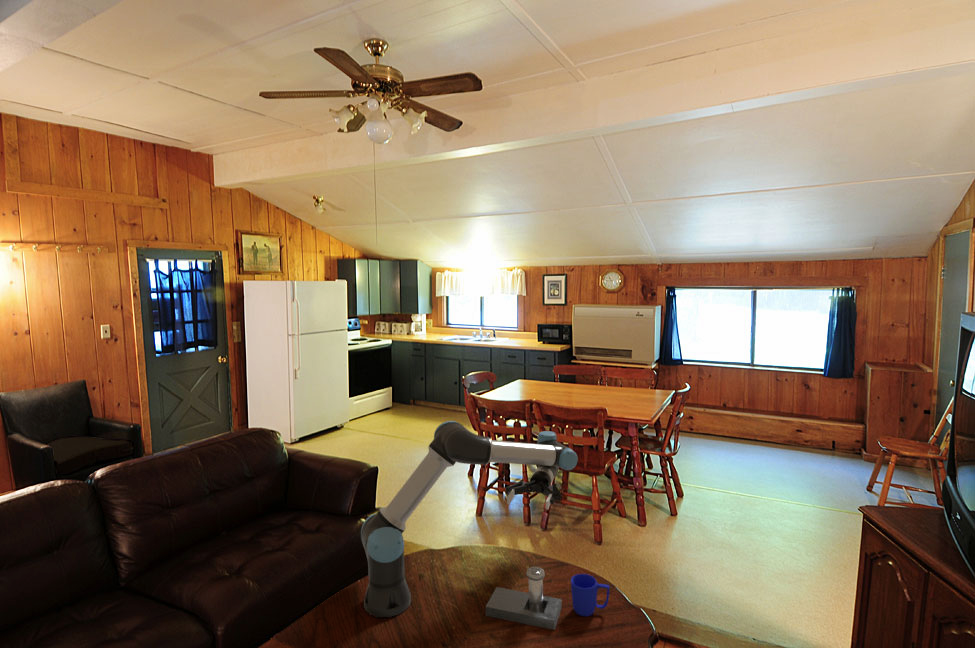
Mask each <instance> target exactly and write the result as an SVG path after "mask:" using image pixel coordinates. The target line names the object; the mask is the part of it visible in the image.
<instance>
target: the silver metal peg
mask: <svg viewBox="0 0 975 648" xmlns="http://www.w3.org/2000/svg"><path fill="white" fill-rule="evenodd" d="M526 577H527V578H528V593H529V608H528V610H529V611H534V612H539V613H544V609H543V596H544V591H543V590H544V584H543V583H544V582H543V580H544V578H545V577H546V576H545V570H544V568H541V567H539V566H531V567H528V568H527V570H526Z"/></svg>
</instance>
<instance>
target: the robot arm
mask: <svg viewBox="0 0 975 648" xmlns="http://www.w3.org/2000/svg"><path fill="white" fill-rule="evenodd" d="M557 439H558V438H557V434H556V432H555V431H549V430H548V431H547V430H545V431H540V432H538V434H537V441H536V443H528V442H519V441H518V442H515V441H506V440H496V439H495V440H494V439H490V437H488V436H482V435H479V434H476V433H473V432H471V431H470V430H469V429H468V428H467V427H465V426H464V424H461V423H459V422H457V421H456V420H447V421H444V422H442V423H441V424H439V425H438V426H437V427H436V429H435V431H434V433H433V440H432V441H430V443H429V445H428V453H427V454H426V456H424V458H423V460H422V461H421V462H420V463H419V464H418V466H417V467H416V468H415V470H414V471H413V472H412V474H411V475H410V476H409V478H408V479H407V480H406V481H405V483H404V484H403V485H402V486H401V488H400V489H399V490H398V492H397V493H396V494H395V496H394V497H393V499H392V500H391V501H390V502H389V503H388V505H387V506H386V507H380V508H379V509H378V511H377V512H376V513H373V514H371V515H370V516H368V517H367V518H366V519H365V520H364V522H363V524H362V525H361V529H360V541H361V544H362V546H363V548H364V549H363V550H364V553H365V555H366V559H367V567H368V569H367V571H368V584H367V589H366V592H365V595H364V599H363V607H364V608H365V609H364V611H365V610H366V611H367V612H368V613H369V614H371V615H373V616H376V617H375V618H377V617H388V618H393V617H396V616H398V615H400V614H402V613H404V612H405V611H406V610H407V609H408V608H409V607H410V606H411V602H412V596H411V590H410V588H409V587H408V586H409V585H408V584H407V583H408V582H407V580H406V577H405V576H406V574H405V541H404V536H403V533H404V532H405V531H406V528H407V527H406V522H407V520H408V519H409V518H410V517H411V515H412V514H413V513H414V511H415V510H416V509H417V508H418V506H419V505H420V503H421V502H422V501H423V500H424V499H425V497H426V495H427V494H429V492H430V490H431V489H432V488H433V486H434V485H435V484H436V482H437V481H438V480H439V478H440V477H441V475H442V474H444V472H445V471H446V469H447V468H449V467H453V466H455V464H456V463H459V464H466V465H481V466H483V465H484V466H487V465H488V464H489V463H495V464H497V463H498V464H512V465H513V464H515V465H526V466H527V465H529V466H531V465H532V466H537V468H536V470H535V471H534V472H533V474H532V476H531V477H530V480H529V481H527V482H525V481H524V480H523V479H520V480H519V481H517V482H515V483H512V484H510V485H508V486H505V495H506V496H507V497H506V505H511V503H512V501H514V499H515V496H518V495H521V494H525V493H526V494H531V493H537V494H542V495H543V496H546V497H547V498H546V500H545V510H549V509H550V506H551V505H553V504H554V503H555V502H556V501H558V502H562V493H561V491H560V490H559V488H558V487H557V483H553V481H554V479H555V478H556V476H558V473H559V468H560V469H562V470H564V471H571V470H573V469H575V467H576V466H577V464H578V461H579V459H578V455H577V453H576V452H575V451H574V450H573V449H572V448H570V447H568V446H566V445H563V444H562V443H560V442H559V441H557ZM552 483H553V484H552ZM366 611H365V612H366ZM367 612H366V613H367ZM368 613H367V614H368ZM369 614H368V615H369ZM371 615H370V616H371ZM395 615H396V616H395ZM373 616H372V617H373ZM392 616H393V617H392Z"/></svg>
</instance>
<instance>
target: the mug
mask: <svg viewBox="0 0 975 648" xmlns="http://www.w3.org/2000/svg"><path fill="white" fill-rule="evenodd" d="M570 587H571V598H572V608H573V611H574V612H575V613H576V614H577V615H579V616H581V617H589V616H591V615H593V614H594V613H595V610H596V608H598V609H601V610H603V609H605V608H606V607H608V603H609V600H610V599H609V598H610V589H611V588H610V585H609V584H604V583H598V581H597V579H596V578H595V577H594V576H593V575H590V574H587V573H577V574H575V575H573V576H571V578H570ZM602 588H603V589H606V590H607V591H606V598H605V601H604V603H603V604H598V603H597V599H598V591H599V589H602Z"/></svg>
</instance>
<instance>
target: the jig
mask: <svg viewBox="0 0 975 648" xmlns="http://www.w3.org/2000/svg"><path fill="white" fill-rule="evenodd" d="M561 612H562V598H558V597H557V598H555V597H553V596H546V595H543V613H539V612H534V611H529V592H525V591H519V590H514V589H508V588H505V587H498V586H496V587H495V589H494V591H493V593H492V595H491V596H490V598H489V600H488V602H487V604H486V605H485V616H486V617H490V618H495V619H498V620H505V621H509V622H513V623H519V624H523V625H524V624H525V625H529V626H534V627H537V628H538V627H539V628H543V629H547V630H552V631H556V630H555V629H556V626H557V623H558V620H559V617H560V614H561Z"/></svg>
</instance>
